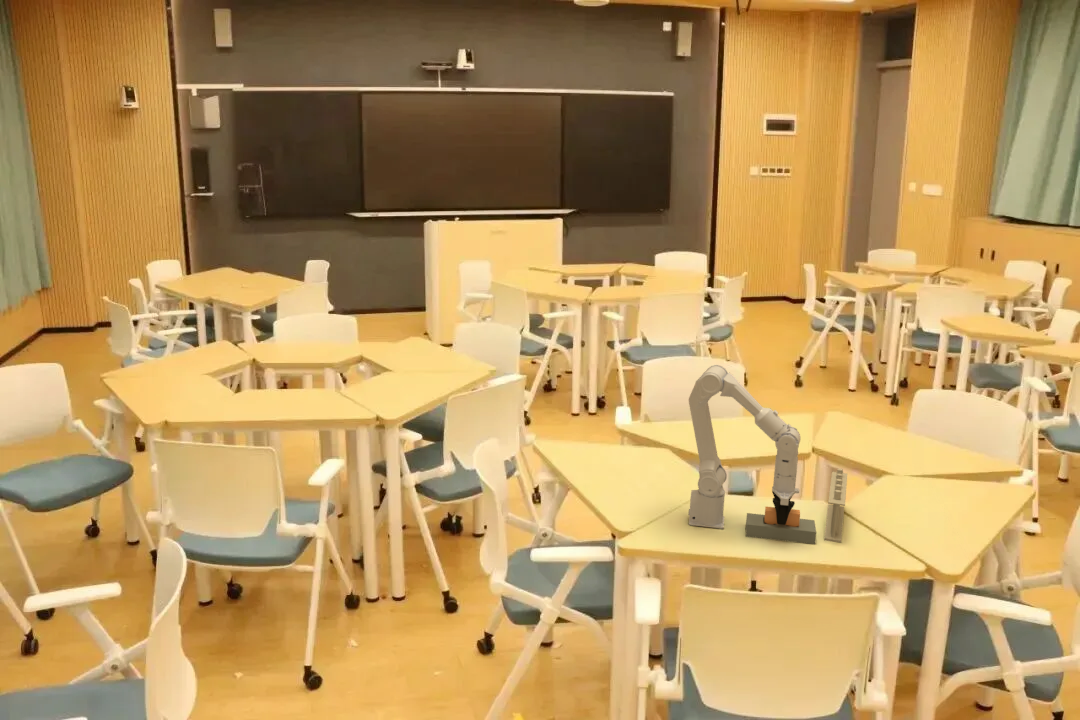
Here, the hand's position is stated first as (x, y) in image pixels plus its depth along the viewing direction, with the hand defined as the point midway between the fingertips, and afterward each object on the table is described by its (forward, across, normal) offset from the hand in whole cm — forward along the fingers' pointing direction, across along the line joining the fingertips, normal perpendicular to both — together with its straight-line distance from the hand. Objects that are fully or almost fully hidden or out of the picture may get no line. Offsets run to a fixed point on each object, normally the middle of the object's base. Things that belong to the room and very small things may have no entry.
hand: (781, 520), depth 247 cm
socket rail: (+4, 0, 0) cm, 4 cm away
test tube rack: (+4, +12, -15) cm, 20 cm away
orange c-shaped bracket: (+4, 0, 0) cm, 4 cm away
